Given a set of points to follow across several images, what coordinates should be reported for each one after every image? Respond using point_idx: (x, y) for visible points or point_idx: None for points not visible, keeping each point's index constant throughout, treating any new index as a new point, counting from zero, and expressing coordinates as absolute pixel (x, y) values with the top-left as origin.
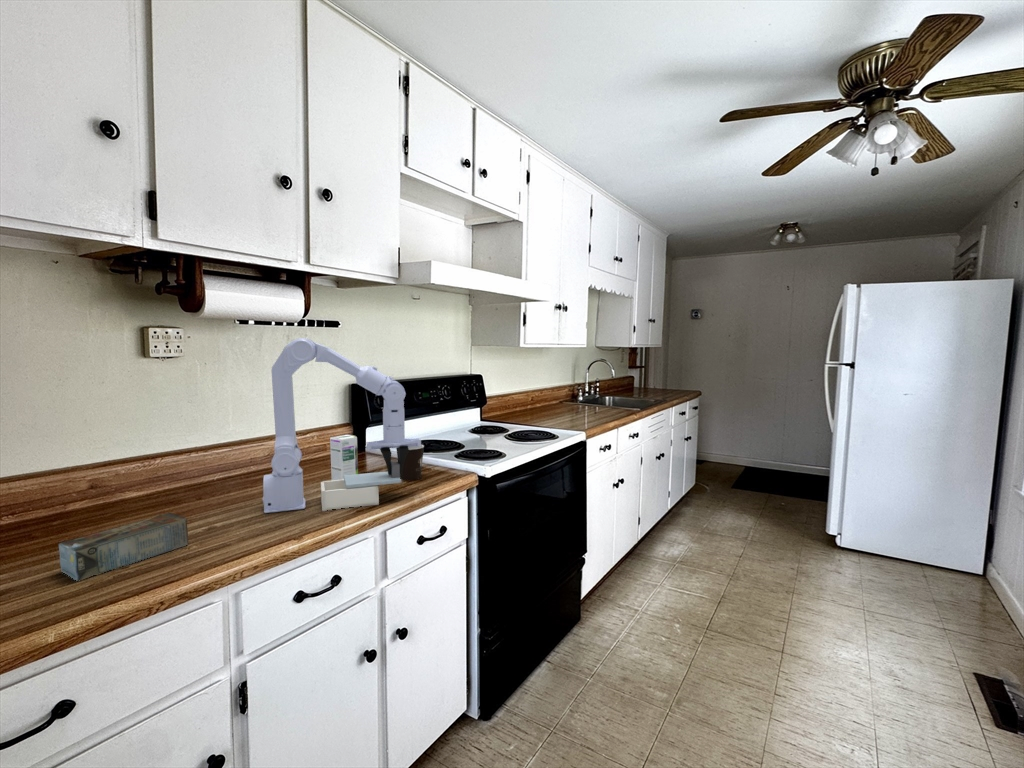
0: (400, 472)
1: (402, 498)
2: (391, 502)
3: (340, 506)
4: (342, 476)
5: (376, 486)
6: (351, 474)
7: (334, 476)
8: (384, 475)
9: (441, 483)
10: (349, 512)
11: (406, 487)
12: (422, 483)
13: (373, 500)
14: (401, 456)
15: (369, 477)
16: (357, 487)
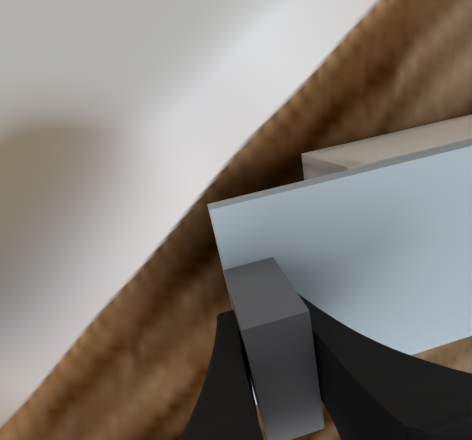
0: (223, 316)
1: (197, 230)
2: (245, 178)
3: (460, 118)
4: None
5: (358, 164)
6: None
7: None
8: None
9: (31, 422)
10: (423, 62)
11: (190, 370)
12: (124, 418)
13: (333, 150)
14: (237, 420)
15: (402, 279)
16: None
